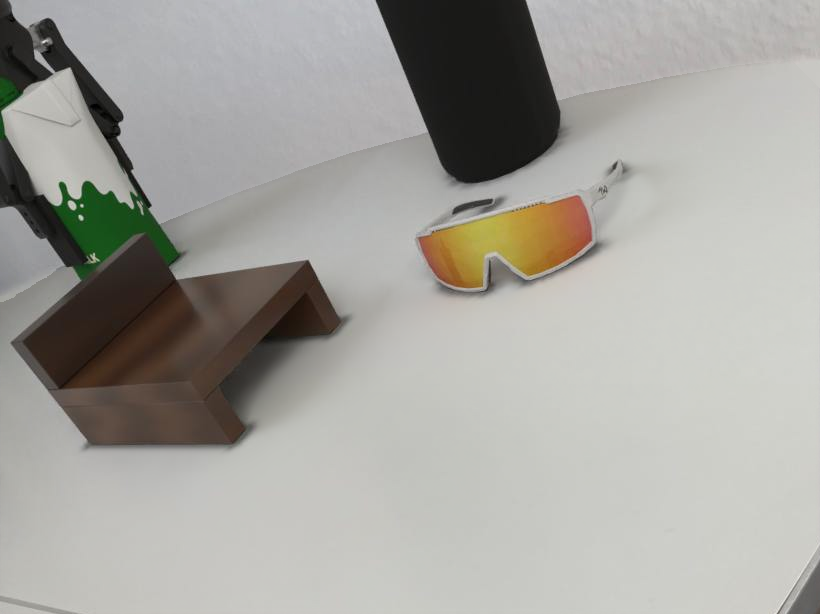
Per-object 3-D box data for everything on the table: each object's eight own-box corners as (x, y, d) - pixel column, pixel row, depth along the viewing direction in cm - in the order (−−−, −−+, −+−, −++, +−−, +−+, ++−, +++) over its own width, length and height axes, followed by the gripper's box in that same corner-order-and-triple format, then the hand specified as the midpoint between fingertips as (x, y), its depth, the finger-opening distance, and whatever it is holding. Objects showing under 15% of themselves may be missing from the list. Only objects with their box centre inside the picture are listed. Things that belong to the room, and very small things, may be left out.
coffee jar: (510, 121, 89) (430, -112, 77) (591, 121, 81) (516, -138, 69) (424, 184, 86) (327, -47, 74) (499, 190, 78) (404, -66, 66)
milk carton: (82, 306, 99) (-62, 104, 86) (139, 256, 104) (11, 57, 91) (135, 300, 94) (-10, 84, 81) (192, 248, 99) (64, 35, 86)
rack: (90, 444, 75) (9, 342, 69) (198, 335, 82) (133, 234, 76) (232, 444, 66) (153, 326, 60) (341, 321, 73) (280, 205, 67)
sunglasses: (410, 312, 69) (382, 241, 66) (479, 234, 79) (458, 169, 76) (603, 268, 62) (582, 188, 59) (650, 189, 73) (634, 117, 70)
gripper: (-136, 28, 74) (58, 296, 88) (57, -82, 85) (201, 173, 99) (-180, 51, 78) (12, 303, 93) (9, -57, 89) (154, 184, 104)
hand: (110, 235), depth 96 cm, fingers closed on milk carton, 9 cm apart
